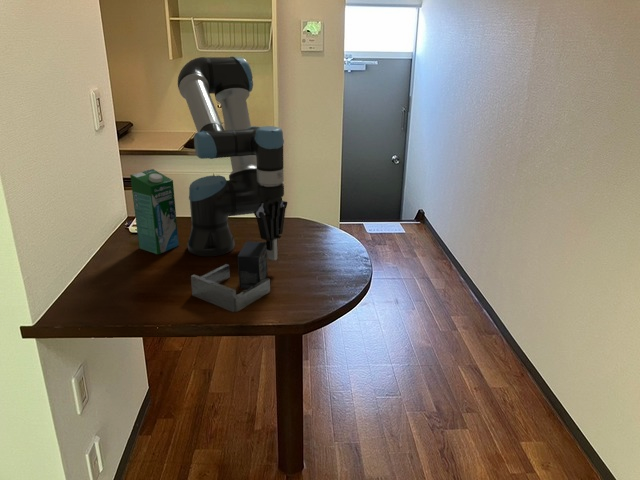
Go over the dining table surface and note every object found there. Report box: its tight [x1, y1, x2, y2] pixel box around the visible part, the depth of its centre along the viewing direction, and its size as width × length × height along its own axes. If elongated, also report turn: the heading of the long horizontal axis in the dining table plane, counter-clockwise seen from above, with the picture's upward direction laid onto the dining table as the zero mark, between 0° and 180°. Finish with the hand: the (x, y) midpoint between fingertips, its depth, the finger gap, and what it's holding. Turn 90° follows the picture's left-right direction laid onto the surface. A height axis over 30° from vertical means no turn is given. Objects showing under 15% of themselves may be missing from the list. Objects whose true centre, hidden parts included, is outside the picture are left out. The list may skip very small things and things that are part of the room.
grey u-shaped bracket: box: [190, 263, 271, 313], centre depth 145 cm, size 16×14×6 cm
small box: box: [237, 241, 269, 290], centre depth 151 cm, size 11×6×10 cm, turn 174°
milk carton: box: [129, 168, 180, 255], centre depth 170 cm, size 9×9×25 cm
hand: (272, 258), depth 158 cm, fingers closed
